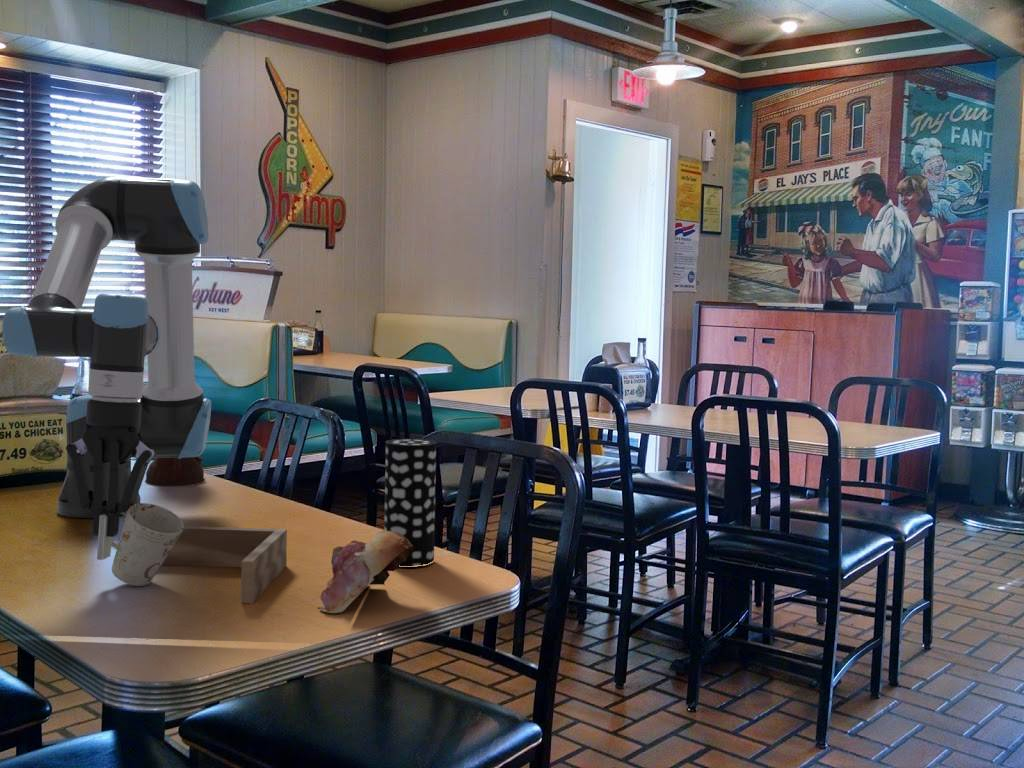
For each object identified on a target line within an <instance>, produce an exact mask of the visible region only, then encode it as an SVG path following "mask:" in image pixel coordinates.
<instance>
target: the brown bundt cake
mask: <svg viewBox="0 0 1024 768" xmlns="http://www.w3.org/2000/svg"><path fill="white" fill-rule="evenodd" d="M203 460H204V458H203V457H201V456H197V457H186V458H181V459H178V458H154V459H153V460H152V461H151V462H150V463H149V464H148V467H147V470H146V472H145V480H144V483H145V484H147V485H150V486H158V487H185V486H193V485H192V484H194V485H198V484H197V483H199V484H202V483H204V482H205V481H206V479H205V477H204V476H205V475H204V474H205V473H204V468H203V466H202V464H201V463H202V461H203ZM203 481H204V482H203ZM201 482H202V483H201Z"/></svg>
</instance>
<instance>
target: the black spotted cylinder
mask: <svg viewBox="0 0 1024 768" xmlns="http://www.w3.org/2000/svg"><path fill="white" fill-rule="evenodd" d="M384 457H385V462H384V463H385V465H384V466H385V471H384V472H385V473H384V520H383V522H384V525H383V526H384V527H383V528H384V529H383V531H392V532H396V533H399V534H401V535H402V536H404V537H406V538H407V539H408V540H409V541H410V543H411V544H412V545H413V547H414V548H413V550H412V552H411V553H410V554H409V556H408V557H407V558H406V559H405V560H404V561H403V562H402V563H401V564H400V566H415V565H423V564H428V563H430V562H432V561H433V560H434V561H435V531H436V530H435V528H436V527H435V526H436V524H435V523H436V521H435V520H436V519H435V517H436V485H437V484H436V482H437V481H436V480H437V478H436V477H437V475H436V474H437V473H436V472H437V471H436V470H437V469H436V468H437V442H436V440H435V441H434V440H431V439H423V438H395V439H390V440H389V439H388V440H386V441H385V456H384Z"/></svg>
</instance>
